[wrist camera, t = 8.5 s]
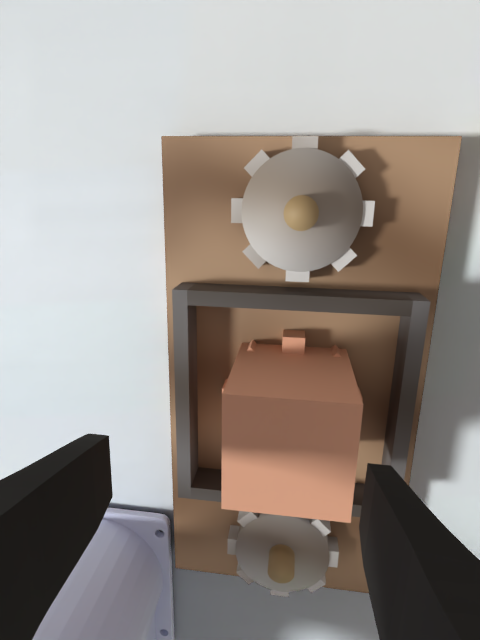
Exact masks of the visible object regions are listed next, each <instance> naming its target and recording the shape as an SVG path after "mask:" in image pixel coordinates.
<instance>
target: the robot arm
mask: <svg viewBox="0 0 480 640" xmlns="http://www.w3.org/2000/svg"><path fill="white" fill-rule="evenodd" d="M111 499H112V481H111V465H110V449H109V436H106V435H97V434H87V435H84V436H82V437H80V438H78V439H76V440H74V441H73V442H71V443H69V444H67V445H65V446H63V447H62V448H60V449H58V450H56V451H54V452H53V453H51V454H49V455H47V456H45V457H43V458H42V459H40V460H38V461H36V462H34V463H33V464H31V465H29V466H27V467H25V468H23V469H22V470H20V471H18V472H16V473H14V474H12V475H10V476H8V477H6V478H4V479H2V480H0V640H174V612H173V584H172V555H171V527H170V519H169V518H168V517H167V516H166V515H164V514H161V513H152V512H143V511H135V510H126V509H117V508H108V506H109V503H110V501H111ZM159 530H162V531H163V532H160V531H159ZM359 533H360V543H361V552H362V560H363V567H364V572H365V577H366V581H367V585H368V590H369V594H370V599H371V603H372V608H373V612H374V616H375V621H376V625H377V629H378V634H379V638H380V640H480V560H479V559H478V558H477V557H476V556H474V555H473V554H472V553H471V552H470V551H469V550H468V549H467V548H466V547H465V546H464V545H463V544H462V543H461V542H460V541H459V540H458V539H457V538H456V537H455V536H454V535H453V534H452V533H451V532H450V531H449V530H448V529H447V528H446V527H445V526H444V525H443V524H442V523H441V522H440V521H439V520H438V519H437V517H436V516H435V515H434V514H433V513H432V512H431V511H430V510H429V509H428V508H427V507H426V505H425V504H424V503H423V502H422V501H421V500H420V499H419V497H418V496H417V495H416V494H415V493H414V492H413V490H412V489H411V488H410V487H409V486H408V485H407V483H406V482H405V481H404V480H403V479H402V477H401V476H400V475H399V474H398V473H397V472H396V470H395V469H394V468H393V467H392V466H391V465H381V464H372V463H367V471H366V478H365V486H364V493H363V500H362V508H361V515H360V522H359Z"/></svg>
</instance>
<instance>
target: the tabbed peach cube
mask: <svg viewBox="0 0 480 640" xmlns="http://www.w3.org/2000/svg"><path fill="white" fill-rule="evenodd" d="M362 401H363V398H362V395H361V392H360V388H358V385H357V382H356V379H355V376H354V372H353V369H352V366H351V363H350V359H349V356H348V353H347V350H346V349H340V348H338V347H337V346H336V345H334V346H333V347H331V348H323V347H306V346H305V331H302V330H283V339H282V345H273V344H257V343H256V342H255V341H254V340H252V341H251V342H250V343H242V344H241V347H240V349H239V352H238V354H237V357H236V359H235V362H234V364H233V367H232V370H231V372H230V375H229V377H228V379H226V380H225V382H224V385H223V387H222V482H221V509H227V510H236V511H245V512H254V513H263V514H272V515H282V516H291V517H300V518H309V519H318V520H327V521H336V522H345V523H351V515H352V506H353V496H354V487H355V478H356V469H357V459H358V450H359V441H360V432H361V422H362V413H363V402H362Z"/></svg>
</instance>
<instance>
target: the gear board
mask: <svg viewBox="0 0 480 640" xmlns="http://www.w3.org/2000/svg"><path fill="white" fill-rule="evenodd" d="M461 139H462V136H162V167H163V198H164V229H165V260H166V291H167V322H168V353H169V384H170V415H171V446H172V477H173V508H174V539H175V568H179V569H187V570H195V571H203V572H210V573H218V574H226V575H233V576H240V577H241V578H242V579H243V580H244V581H245V582H246V583H248V584H251V583H252V582H256V583H257V584H259V585H261V586H263V587H265V588H268V589H271V591H270V595H276V596H284V597H289V592H294V591H300V590H303V589H306V588H307V589H308V590H309V591H310V592H311V593H312V592H314V591H316V590H317V589H319V588H321V587H325V588H333V589H341V590H348V591H356V592H364V593H369V590H368V585H367V581H366V577H365V572H364V567H363V560H362V552H361V543H360V533H359V522H360V515H361V508H362V500H363V493H364V486H365V478H366V471H367V463H372V464H381V465H391V466H392V467H393V468H394V469H395V470H396V472H397V473H398V474H399V475H400V476H401V477H402V479H403V480H404V481H405V482H406V483H407V485H408V486H409V480H410V474H411V467H412V461H413V454H414V448H415V441H416V434H417V428H418V421H419V415H420V408H421V402H422V395H423V388H424V382H425V375H426V369H427V362H428V356H429V349H430V342H431V336H432V329H433V323H434V316H435V310H436V303H437V296H438V290H439V283H440V277H441V270H442V264H443V257H444V251H445V244H446V237H447V231H448V224H449V218H450V211H451V205H452V198H453V191H454V185H455V178H456V172H457V165H458V159H459V152H460V145H461ZM283 330H302V331H305V346H306V347H323V348H331V347H333V346H334V345H336V346H337V347H338V348H340V349H346V350H347V353H348V356H349V359H350V363H351V366H352V369H353V372H354V376H355V379H356V382H357V385H358V388H360V392H361V395H362V398H363V401H362V402H363V413H362V422H361V432H360V441H359V450H358V459H357V469H356V478H355V487H354V496H353V506H352V515H351V523H345V522H336V521H327V520H318V519H309V518H300V517H291V516H282V515H272V514H263V513H254V512H245V511H236V510H227V509H221V482H222V387H223V385H224V382H225V380H226V379H228V377H229V375H230V372H231V370H232V367H233V364H234V362H235V359H236V357H237V354H238V352H239V349H240V347H241V344H242V343H250V342H251V341H252V340H254V341H255V342H256V343H257V344H273V345H282V339H283Z"/></svg>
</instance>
